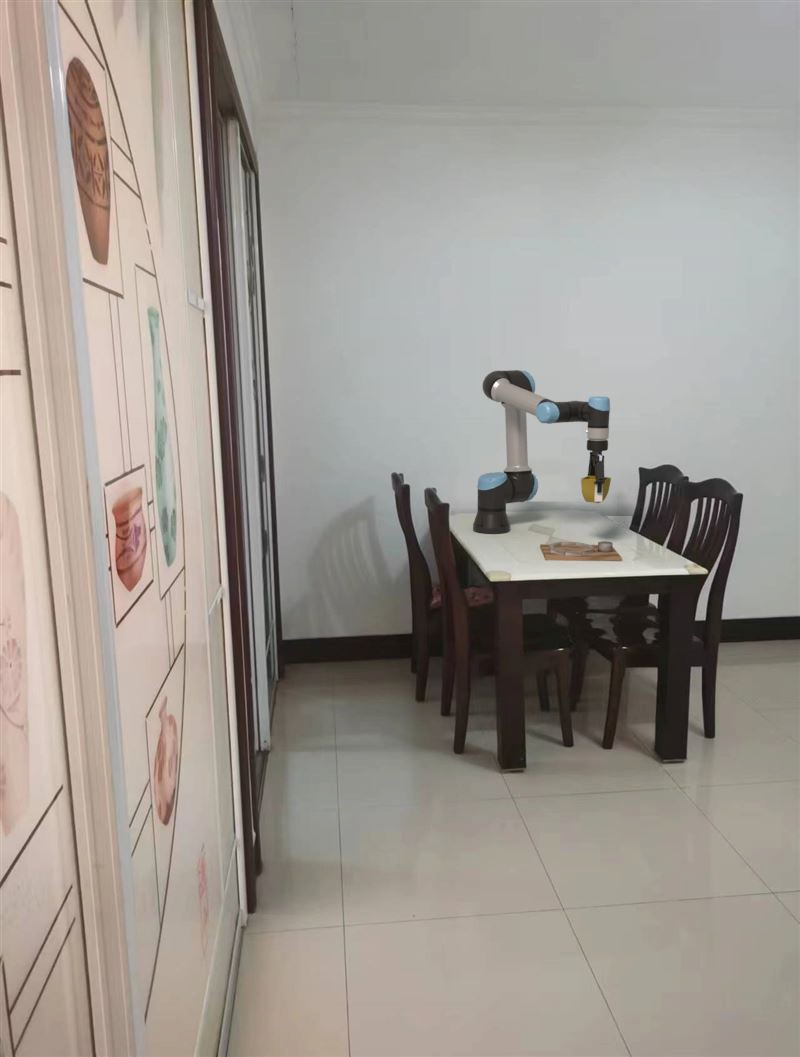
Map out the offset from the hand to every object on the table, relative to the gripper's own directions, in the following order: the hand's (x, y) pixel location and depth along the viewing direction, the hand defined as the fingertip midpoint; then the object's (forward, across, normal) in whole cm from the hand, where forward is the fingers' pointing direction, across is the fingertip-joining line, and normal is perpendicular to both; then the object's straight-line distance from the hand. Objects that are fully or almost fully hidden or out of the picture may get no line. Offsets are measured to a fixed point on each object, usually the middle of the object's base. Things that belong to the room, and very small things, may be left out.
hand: (594, 498), depth 294 cm
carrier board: (+18, +13, -7) cm, 23 cm away
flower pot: (+1, 0, 0) cm, 1 cm away
